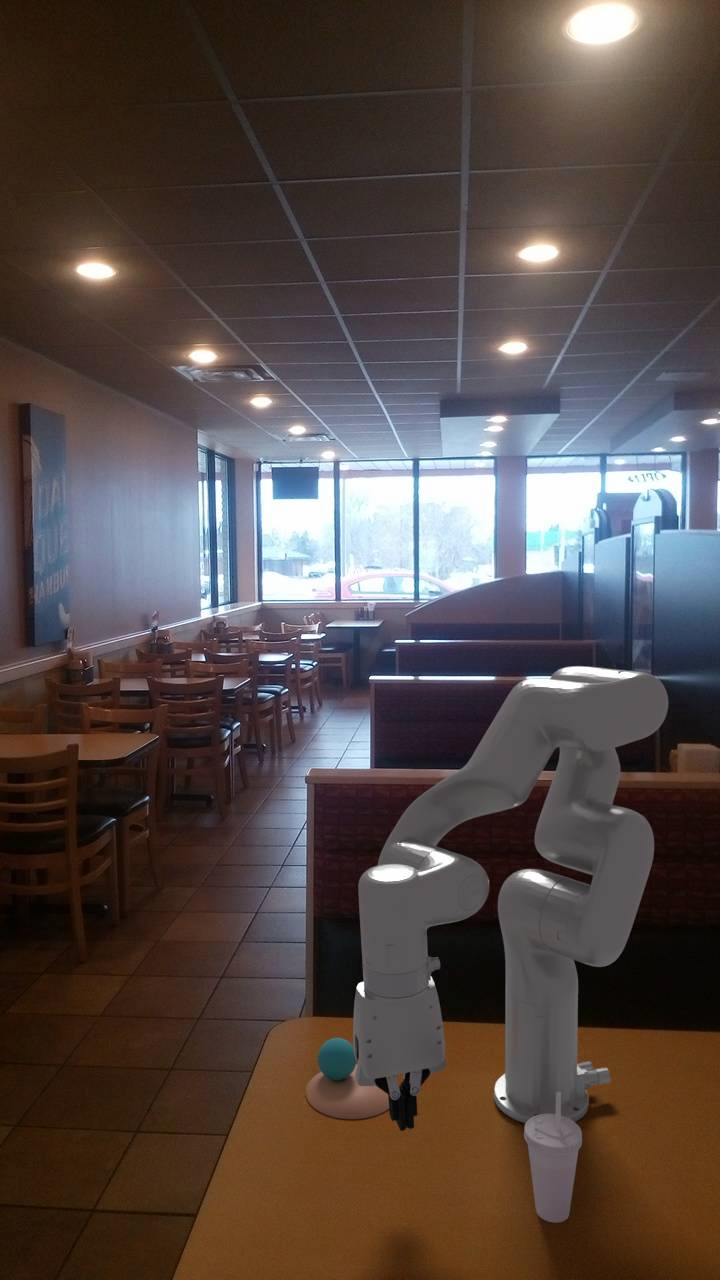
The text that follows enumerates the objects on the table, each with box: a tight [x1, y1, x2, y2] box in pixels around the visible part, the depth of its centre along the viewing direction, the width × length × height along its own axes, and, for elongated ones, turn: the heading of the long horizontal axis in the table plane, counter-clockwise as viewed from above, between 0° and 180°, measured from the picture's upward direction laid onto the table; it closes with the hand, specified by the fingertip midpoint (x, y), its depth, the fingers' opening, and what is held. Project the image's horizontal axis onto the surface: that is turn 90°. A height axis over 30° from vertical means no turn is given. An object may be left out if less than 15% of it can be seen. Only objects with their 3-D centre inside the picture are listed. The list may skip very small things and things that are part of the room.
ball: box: [317, 1037, 357, 1080], centre depth 133 cm, size 6×6×6 cm
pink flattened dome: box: [305, 1063, 400, 1120], centre depth 130 cm, size 13×13×1 cm
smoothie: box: [523, 1092, 583, 1224], centre depth 105 cm, size 6×6×14 cm
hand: (403, 1122), depth 109 cm, fingers closed
